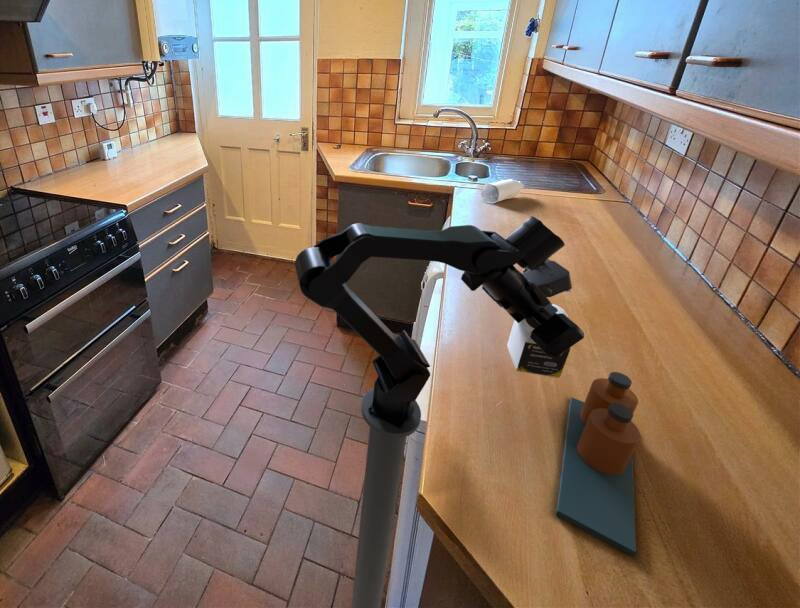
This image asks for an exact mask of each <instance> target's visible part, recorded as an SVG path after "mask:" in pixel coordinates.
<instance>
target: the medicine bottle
mask: <svg viewBox="0 0 800 608" xmlns="http://www.w3.org/2000/svg"><path fill="white" fill-rule="evenodd" d="M541 307H543V306H541ZM543 308H544V309H545V310H546V311H547V312H548V313H549V314H551V315H552V316H553V315H554V314H561V313H563V314H564V315H565V316H567V317H568V318H569V314H568V312H566V311H565V309H563V308H562V307H561V306H559V305H557V304H555V303H549V304H548V305H547V306H545V307H543ZM538 314H539V315H540V316H541V317H543V316H542V315H541V314H540V313H539V312H538ZM543 318H544V319H545V317H543ZM569 319H570V318H569ZM545 320H547V319H545ZM539 325H540V324H539V323H538V322H537V321H536V320H535V319H534V318H533V317H532V318H529V319H523V320H522V321H521V322H519V323H517V322H516V320H515V319H514V320H513V323H512V327H511V330H510V333H509V337H508V341H507V343H506V347H507V351H508V353H509V355H510V358H511V361H512V363H513V365H514V368H515V370H516V372H519V373H523V374H524V373H525V374H531V375H536V376H537V375H538V376H544V377H549V378H555V379H560V378H561V376H562V373H563V370H564V367H565V365H566V362H567V360H568V357H569V354H570V352H571V349H572V347H570V349H569V350H567V351H566V352H563V353H562V354H560V355H559V356H557V357H556V358H550V357H549V356H548V355H547V354H546V353H545V352H544V351H543V350H542V349H541V348H540V347H539V346H538V345H537V344H536V343H535V342H534V341H533V340H532V339H531V338H530V336H531V332H532V330H534V329H535V328H537V327H538V326H539Z"/></svg>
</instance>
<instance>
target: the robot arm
mask: <svg viewBox="0 0 800 608" xmlns="http://www.w3.org/2000/svg"><path fill="white" fill-rule="evenodd" d="M565 246H566V244H565V242H564V240H563V239H562V238H561V237H560V236H558V235H557V234H555V233H554V232H553V231H552V230H551V229H550V228H549V227H547V226H546V225H545V224H544V223H543V221H542V220H541V219H538V218H537V217H535V216H534V215H532V216H530V217H528V218H527V219H526V220H525V221H524V222H523V224H522V225H521V226H519V227H518V228H517V229H515V230H514V231H513V232H512V233H511V234H509V235H508V236H507V237H505V238H504V237H503V236H501V235H500V234H499V233H498V232H496V231H492V230H490V231H489V230H481V229H480V228H479V227H478V226H475V225H471V224H465V225H454V226H448V227H446V228H444V229H442V230H426V229H425V230H423V229H422V230H421V229H412V228H401V227H400V228H398V227H387V226H375V225H367V224H364V223H360V222H358V223H354V224H351V225H349V226H348V227H347V228H345V229H344V230H342V231H341V232H339V233H336V234H333V235H330V236H327V237H325V238H322V239H321V240H320V241H319V242H317V243H316V244H314V245H313V246H312V247H308V248H305V249H303V250H302V251H300V252H299V253H298V254H297V256H296V258H295V261H294V269H295V272H296V276H297V280H298V284H299V289H300V292H301V294H303V296H304V297H305V298H307V299H308V300H310V301H312V302H313V303H315V304H316V305H318V306H319V307H320V308H326V309H329V310H332V311H334V312H335V313H336V315H338V316H339V317H340V319H342V320H343V321H344V322H345V323H346V324H347V325H348V326H349V327H350V328H351V329H352V330H353V331H354V332H355V333H357V335H358V336H359V337H360V338H361V339H362V340H363V341H364V342H365V343H366V344H368V346H369V347H370V348H371V349H373V350H374V351H375V353H376V354H378V355H377V356H376V358H374V359H373V360H372V365H373V367H374V370H375V373H376V374H377V378H376V379H375V380H374V382H373V388H374V393H373V402H372V404H371V405H370V407H369V409H368V411H369V412H370V413H371V414H373V415H375V416H377V417H379V418H381V419H383V420H384V421H386V422H388V423H390V424H392V425H394V426H396V427H398V428H402V426H403V424H404V422H405V420H408V419H409V417H410V415H411V414H412V412H413V407H414V401H415V400H416V401H417V399H418V397H419V395H420V394H421V392H422V391H423V389H424V388H425V385H426V384H427V383H428V381H429V378H430V377H431V372H430V370H429V368H430V367H431V365H430V363H429V361H428V360H427V358H426V356H425V354H424V353H423V352H422V349H421V348H420V346H419V345H418V343H417V341H416V340H415V339H413V338H411V337H410V336H409V335H408V333H407V331H406V330H402V331H401V333H399V334H398V333H397V334H396V333H394V332H392V331H391V330H390V329H389V328H388V326H387V325H385V323H384V322H383V321H381V319H380V318H379V317H378V316H377V315H376V314H375V313H374V312H373V311H372V310H371V309H370V308H369V307H368V306H367V304H366V303H365V302H364V301H362V300H361V298H360V297H358V295H357V294H356V293H355V292H354V291H353V290H352V289H351V288H350V287H349V286H348V285H347V282H348V281H349V280H351V278H352V277H353V276H354V274H355V273H356V272H357V270H358V269H359V268H360V267H361V265H363V263H365V262H366V261H367V260H369V259H370V258H379V259H380V258H381V259H392V260H393V259H394V260H406V261H407V260H409V261H422V262H437V263H441V264H445V265H447V266H450V267H451V268H454V269H456V270H458V271H461V272H463V273H462V275H461V278H460V280H461V281H462V282H463V283H464V284H465V286H467V288H469V290H470V291H471V292H475V291H476V290H477V289H478V288H480V287H481V289H482V290H483V291H484V292H485V293H486V295H488V297H490V298H491V300H492V301H493V302H495V303H496V304H497V305H498V306H499V307H500V308H502V309H504V311H505V312H506V313H508V315H509V316H510V317H511V318H512V319H514V320H516V322H517V323H519V322H521V321H522V320H523V319H529V318H532V317H533V318H534V319H535V320H536V321H537V322H538V323H539V324H540V325H539V326H538V327H537V328H535V329H534V330H532V332H531V336H530V338H531V339H532V340H533V341H534V342H535V343H536V344H537V345H538V346H539V347H540V348H541V349H542V350H543V351H544V352H545V353H546V354H547V355H548V356H549V357H550V358H556V357H557V356H559V355H560V354H562V353H563V352H566V351H567V350H569V349H570V347H571V348H572V347H573V346H574V345H576V344H577V343H579V342H580V341H582V340H583V339H585V333H584V331H583V330H582V328H581V327H580V326H579V325H577V324H576V323H575V322H574V321H573V320H571V319H570V318H568V317H569V316H568V317H567V316H565V315H564V314H563V313H561V314H554V315H553V316H552V315H551V314H549V313H548V312H547V311H546V310H545V309H544V308H543V307H545V306H547V305H548V304H549V303H551V301H550V300H549V298H552V297H554V296H557V295H559V294H561V293H564V292H568V291H570V290H571V289H572V288H573V284H572V279H571V273H570V271H569V270H568V269H567V268H565V267H564V266H563V265H561V264H560V263H558V262H557V261H555V260H550V258H551V257H552V256H553V255H555V254H556V253H557V252H559V251H560V250H561V249H562V248H564V247H565ZM336 256H338V257H337V258H336V260H334V261H333V260H332V259H333V258H335V257H336ZM515 265H518V266H519V267H520V268H522V269H524V270H523V271H522V272H521V271H520V270H518V268H517V267H516V266H515ZM541 306H543V307H541ZM538 312H539V313H540V314H541V315H542V316H543V317H545V319H547V320H545V319H544V318H543V317H541V316H540V315H539V314H538ZM570 350H571V349H570Z"/></svg>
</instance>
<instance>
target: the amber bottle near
mask: <svg viewBox="0 0 800 608" xmlns="http://www.w3.org/2000/svg"><path fill="white" fill-rule="evenodd" d="M633 418H634V413H632V411H631V410H630V409H629V408H627V407H626V406H624V405H622V404H619V403H611V404H609V407H608V409H603V408H598V409H594V410H593V411H591V413H590V415H589V418H588V420H587V422H586V425H585V427H584V430H583V432H582V435H581V437H580V439H579V442H578V444H577V450H578V453H579V455H580V456H581V458H582V459H583V460H584V461H585V462H586V463H587V464H588V465H590V466H591V467H592V468H594V469H595V470H597V471H599V472H602V473H604V474H608V475H619V474H622V473H623V471H624V470H625V468H626V466H627V464H628V462H629V460H630V458H631V456H632V457H633V454H634V452H635V449H636V448H637V446H638V444H639V441H640V440H641V432H640V430H639V428H638V426H636V424H635V423H634V422H633V421H632V420H633Z"/></svg>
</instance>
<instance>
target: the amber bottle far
mask: <svg viewBox="0 0 800 608" xmlns="http://www.w3.org/2000/svg"><path fill="white" fill-rule="evenodd" d="M632 384H633V383H632V379H631V378H630V377H629V376H628V375H625V374H624V373H621V372H619V371H611V372H610V373H609V374H608V376H607V378H605V377H602V378H601V377H600V378H596V379H594V380H593V381H592V382H591V385H590V388H589V389H588V392H587V395H586V397H585V400H584V401H583V402H584V405H583V407H582V410H581V412H580V417H581V420H582V421H583V423H584V424H585V425H586V422H587V420H588V418H589V415H590V413H591V411H593V410H594V409H598V408H603V409H608V407H609V404H611V403H619V404H622V405H624V406H626V407H627V408H629V409H630V410H631V411H632V413H633V414H634V413H635V411H636V409H637V407H638V404H639V399H638V396H637V395H636V393H634V391H633V390H632V389H630V388H631V386H632Z"/></svg>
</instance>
